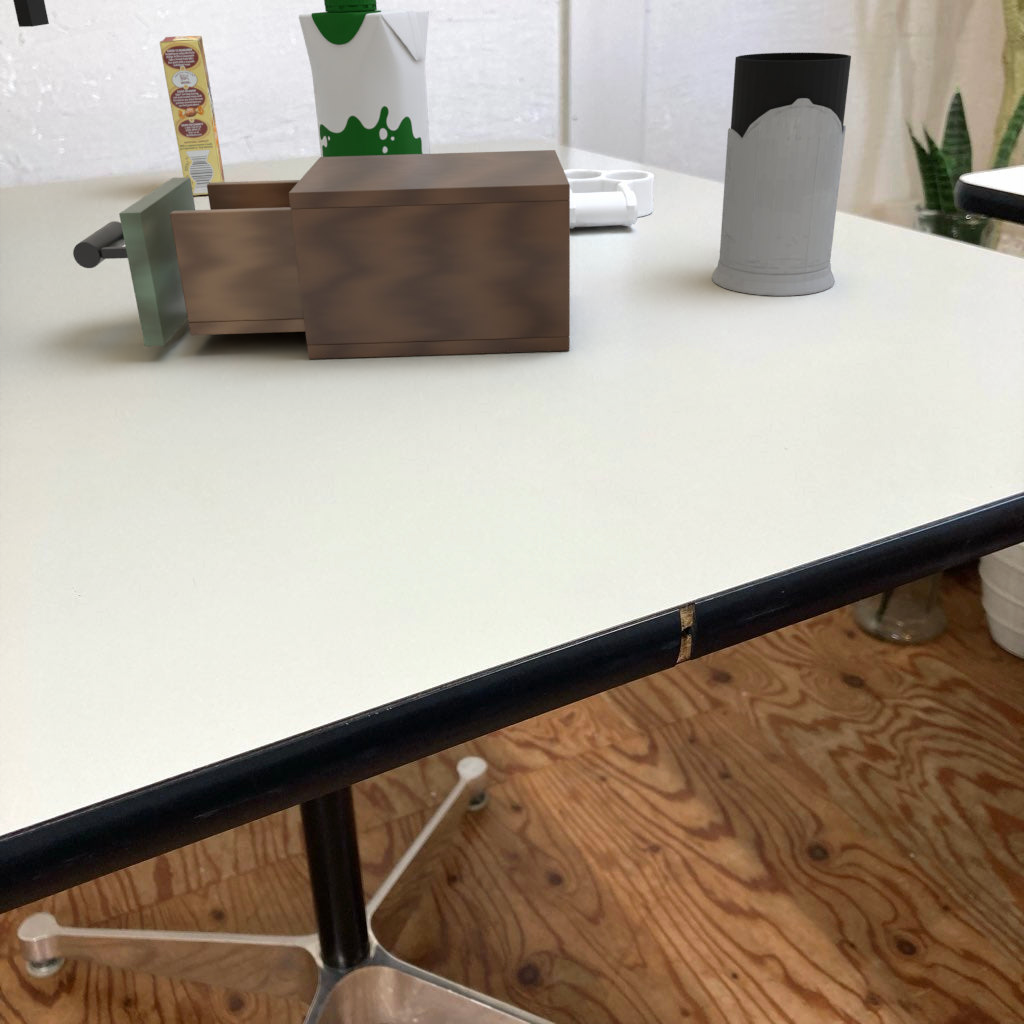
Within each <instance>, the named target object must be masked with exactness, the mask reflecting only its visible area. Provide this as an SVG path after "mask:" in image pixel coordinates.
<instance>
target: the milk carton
mask: <svg viewBox="0 0 1024 1024" xmlns="http://www.w3.org/2000/svg"><path fill="white" fill-rule="evenodd" d="M323 2H324V9H325V11H322V12H312V13H311V12H310V13H302V14H299V15H298V20H299V23H300V28H301V32H302V36H303V40H304V45H305V48H306V52H307V56H308V60H309V65H310V68H311V75H312V76H311V77H312V85H313V95H314V103H315V112H316V113H315V114H316V122H317V132H318V141H319V150H320V157H339V156H372V155H406V154H431V147H430V146H431V145H430V129H429V113H428V95H427V79H426V57H427V56H426V53H427V42H428V41H427V40H428V27H429V17H430V16H429V14H430V10H424V9H423V10H421V9H420V10H415V9H406V8H405V9H402V8H378V6H377V3H378V2H377V0H323Z"/></svg>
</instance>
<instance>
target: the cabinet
mask: <svg viewBox="0 0 1024 1024" xmlns="http://www.w3.org/2000/svg"><path fill="white" fill-rule="evenodd" d="M564 170H565V169H564V168H563V166H562V163H561V161H560V158H559V156H558V154H557V151H556V150H555V149H545V150H544V149H542V150H539V149H538V150H512V151H511V150H510V151H478V152H477V151H473V152H445V153H441V152H440V153H430V154H406V155H372V156H339V157H321V156H319V157H318V159H317V160H316V161H315V162H314V163H313V165H312V166H311V167H310V168H309V169H308V170H307V171H306V173H304V175H303V176H302V177H301V178H300V179H299V180H300V181H299V182H298V183H297V184H296V185H295V186H294V187H293V189H292V190H291V191H290V192H289V200H290V208H291V217H292V225H293V234H294V242H295V250H296V259H297V267H298V275H299V284H300V292H301V300H302V308H303V317H304V325H305V333H304V334H305V341H306V347H307V356H308V359H309V360H322V359H324V360H325V359H352V358H353V359H356V358H383V357H385V358H386V357H414V356H415V357H417V356H446V355H474V354H475V355H476V354H477V355H478V354H479V355H480V354H504V353H506V354H509V353H511V354H512V353H535V352H536V353H537V352H569V351H570V349H571V348H570V347H571V346H570V344H571V343H570V341H571V340H570V338H571V337H570V335H571V334H570V331H571V329H570V325H571V323H570V321H571V320H570V319H571V318H570V317H571V316H570V315H571V314H570V312H571V311H570V310H571V309H570V307H571V303H570V302H571V301H570V300H571V299H570V298H571V296H570V294H571V290H570V289H571V287H570V285H571V284H570V283H571V278H570V277H571V276H570V274H571V272H570V270H571V269H570V267H571V266H570V265H571V263H570V262H571V260H570V257H571V247H570V246H571V245H570V243H571V237H570V236H571V234H570V233H571V230H570V201H569V200H570V184H569V182H568V180H567V177H566V175H565V172H564Z"/></svg>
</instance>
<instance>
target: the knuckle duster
mask: <svg viewBox="0 0 1024 1024" xmlns="http://www.w3.org/2000/svg"><path fill="white" fill-rule="evenodd" d="M563 170H564V172H565V175H566V177H567V180H568V182H569V184H570V200H569V201H570V229H572V230H573V229H575V228H584V227H585V228H586V227H606V226H607V227H608V226H622V227H632V226H633V225H635V224H636V223H637V221H638V218H641V217H646V216H649V215H651V214H652V213H653V211H654V205H655V201H654V200H655V175H654V173H652V172H650V171H646V170H639V169H611V170H610V169H609V170H608V169H607V170H606V169H605V170H604V169H603V170H602V169H590V168H589V169H588V168H569V169H563Z"/></svg>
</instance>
